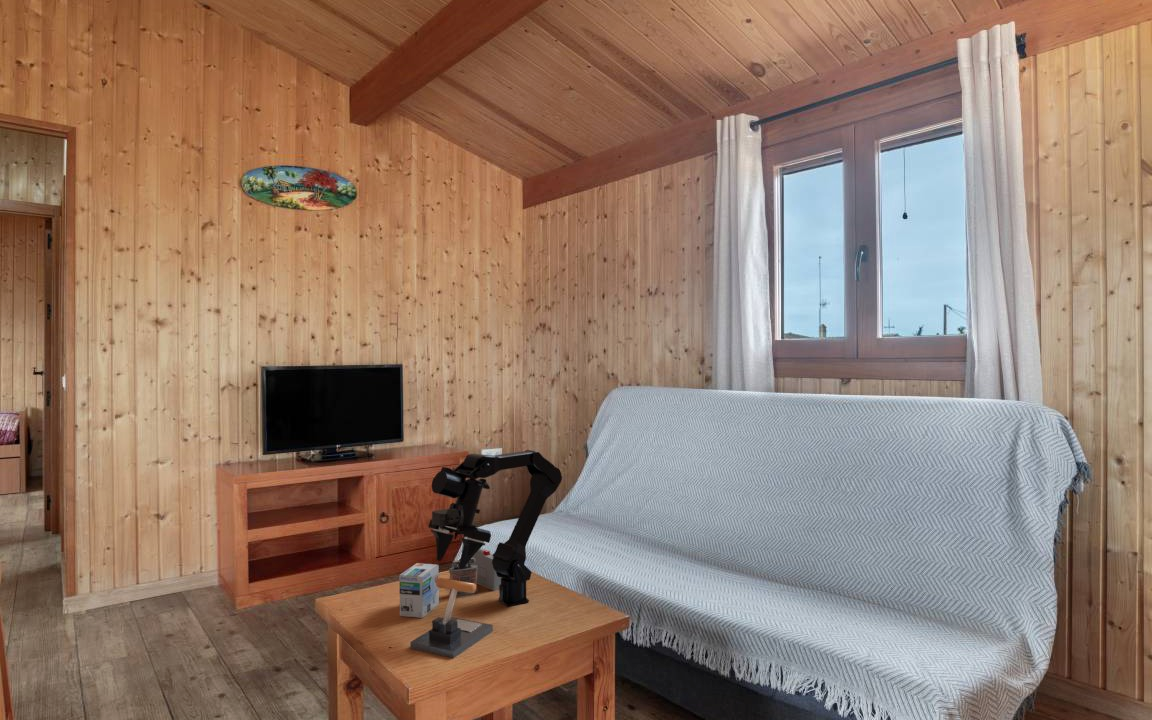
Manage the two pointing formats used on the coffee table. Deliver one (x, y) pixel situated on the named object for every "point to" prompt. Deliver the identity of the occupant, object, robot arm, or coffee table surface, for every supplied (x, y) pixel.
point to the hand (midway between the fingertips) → (449, 564)
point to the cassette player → (486, 570)
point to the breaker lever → (454, 592)
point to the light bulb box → (419, 590)
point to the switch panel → (455, 645)
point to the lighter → (464, 575)
